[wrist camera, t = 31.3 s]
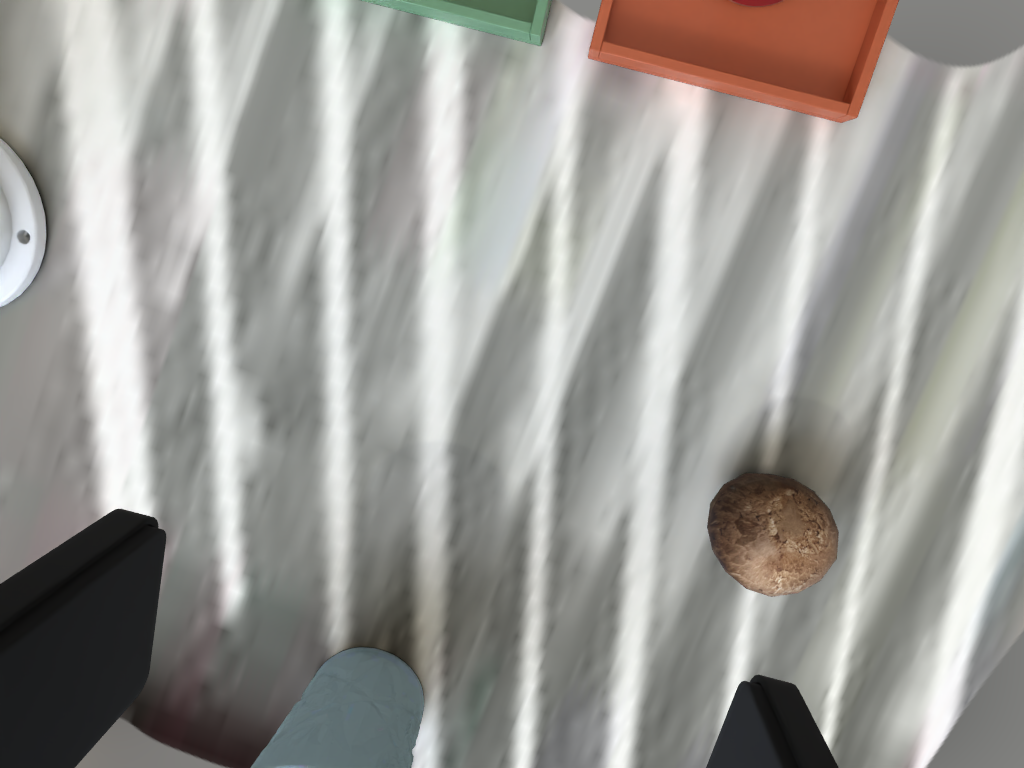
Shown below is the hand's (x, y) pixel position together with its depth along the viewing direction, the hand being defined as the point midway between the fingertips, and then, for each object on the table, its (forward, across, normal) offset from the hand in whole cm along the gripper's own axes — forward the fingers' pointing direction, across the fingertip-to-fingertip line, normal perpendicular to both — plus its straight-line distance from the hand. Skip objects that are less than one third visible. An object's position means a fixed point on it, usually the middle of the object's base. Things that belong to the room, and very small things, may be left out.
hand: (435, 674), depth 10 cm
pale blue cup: (+34, +5, +30) cm, 45 cm away
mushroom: (+34, -18, +8) cm, 39 cm away
